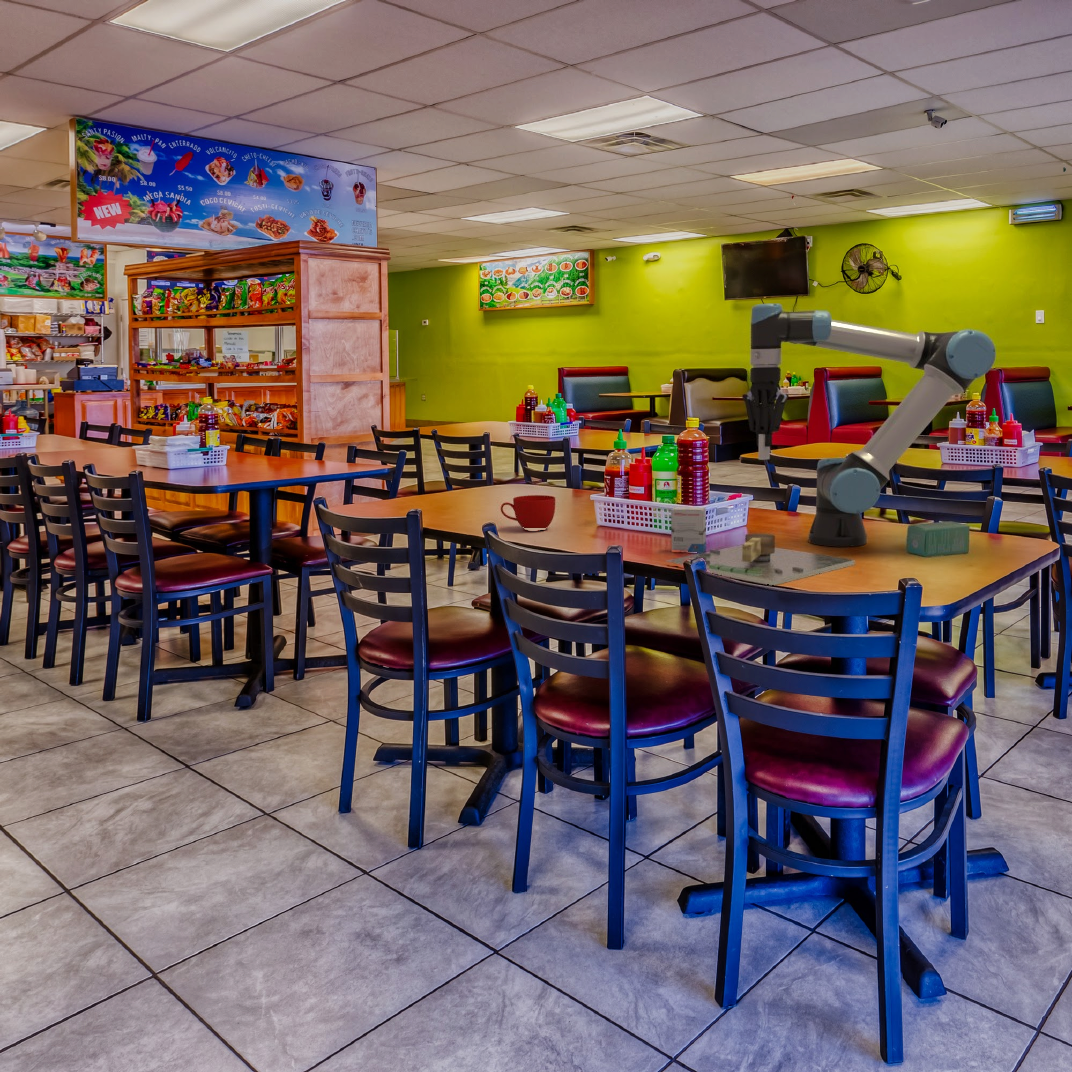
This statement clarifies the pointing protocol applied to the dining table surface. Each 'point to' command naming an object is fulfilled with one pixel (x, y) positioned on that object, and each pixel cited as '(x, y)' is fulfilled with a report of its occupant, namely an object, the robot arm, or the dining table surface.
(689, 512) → the ink box
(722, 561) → the tuner plate
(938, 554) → the box
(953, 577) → the dining table surface
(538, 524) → the ceramic cup
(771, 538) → the dial
